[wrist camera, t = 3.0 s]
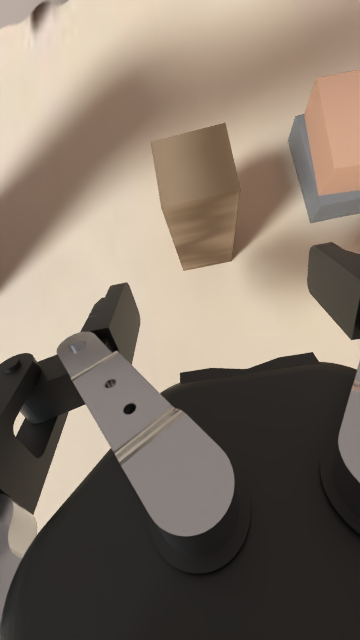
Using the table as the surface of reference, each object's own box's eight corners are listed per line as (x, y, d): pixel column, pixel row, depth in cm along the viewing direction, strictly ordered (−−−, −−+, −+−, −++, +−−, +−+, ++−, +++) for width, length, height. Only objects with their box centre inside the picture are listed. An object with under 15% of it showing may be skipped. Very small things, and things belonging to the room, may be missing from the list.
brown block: (183, 270, 25) (161, 207, 15) (176, 227, 26) (150, 142, 16) (231, 261, 24) (240, 189, 14) (222, 217, 25) (225, 122, 15)
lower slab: (308, 225, 24) (321, 206, 21) (286, 144, 26) (295, 116, 23) (413, 204, 23) (441, 180, 20) (383, 121, 25) (404, 88, 22)
